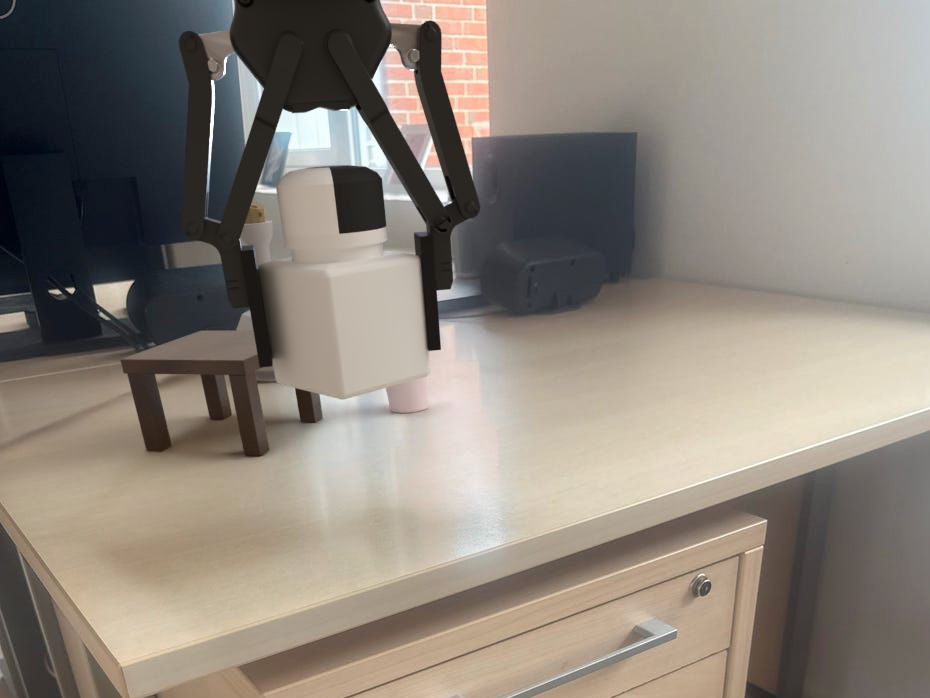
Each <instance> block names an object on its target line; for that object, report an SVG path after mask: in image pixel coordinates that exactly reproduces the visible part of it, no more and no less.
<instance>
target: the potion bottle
mask: <svg viewBox="0 0 930 698" xmlns="http://www.w3.org/2000/svg"><path fill="white" fill-rule="evenodd" d="M273 229H274V227H273V220H267V213H266V205H260V204H259V203H258V204H257V201H255V200H252V203H251V206H250V209H249V212H248V215H247V218H246V221H245V224H244V227H243V230H242V233H241V236H240V239H241V240H242V241H243V243H245V246H247V245H254V248H255V254H256V260H257V266H258V267H259V265H260V264H262V263H265V262H269V261H272V257H271V252H270V244H271V242H272V239H273V237H274V230H273ZM241 330H253V325H252V319H251V313H250V309H248V310H246V311H245V312H243V313H242V314H241V316H240V318H239V321H238V324H237V326H236V329H235V331H241ZM255 373H256V379H257V382H270V383H271V382H272V383H273V382H275V383H278V382H277V381H276V379H275V373H274V366H273V363H272V366H271V367H263V368H260V369H258V370H256V371H255Z"/></svg>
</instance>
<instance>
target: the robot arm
mask: <svg viewBox="0 0 930 698" xmlns="http://www.w3.org/2000/svg"><path fill="white" fill-rule="evenodd" d="M233 5H234V7H233V8H234V11H233V17H232V20H231V23H230V27H229V29H226V30H219V31H213V32H206V33H196V32H195V31H193V30H186V31H183V32H182V33H181V34H180V36H179V38H178V47H179V51H180V55H181V59H182V63H183V66H184V70H185V74H186V78H187V82H188V93H187V94H188V95H187V96H188V97H187V115H186V133H185V149H184V150H185V151H184V169H183V170H184V171H183V187H182V188H183V189H182V205H181V206H182V207H181V232H182V233H183V235H184V236H185V238H187V239H189V240H192V241H198V242H201V243H206V244H209V245H211V246H213V247H214V248H215V250H217V252H218V254H219V255H220V261H221V262H220V263H221V267H222V273H223V278H224V283H225V289H226V295H227V300H228V302H229V304H230V305H231V307H232V309H243V308H244V309H245V308H249V310H250V313H251V319H252V325H253V331H254V337H255V343H256V348H257V354H258V360H259V366H260V368H261V367H271V366H272V354H271V348H270V341H269V335H268V329H267V323H266V317H265V311H264V304H263V298H262V292H261V286H260V280H259V274H258V266H257V260H256V254H255V248H254V245H242V241H241V240H242V239H241V233H242V230H243V227H244V224H245V221H246V218H247V215H248V212H249V209H250V206H251V203H252V201H254V197H255V193H256V191H257V188H258V185H259V182H260V179H261V176H262V173H263V171H264V167H265V164H266V161H267V158H268V155H269V152H270V149H271V146H272V143H273V140H274V137H275V134H276V131H277V127H278V125H279V122H280V119H281V115H282V113H283V111H286V112H289V113H291V114H305V113H309V112H311V111H313V110H316V109H324V110H328V111H332V112H342V111H349V110H351V109H353V108H354V107H355V109H356V111H357V112H358V114H359V116H360V118H361V119H362V120H363V122H364V123H365V125H366V126H367V129H369V131H370V133H371V134H372V136H373V138H374V140H375V141H376V143H377V145H378V146H379V148H380V150H381V151H382V154H383V155H384V156H385V158H386V160H387V161H388V164H389V165H390V167H391V168H392V170H393V172H394V174H395V175H396V177H397V178H398V180H399V182H400V183H401V185H402V187H403V189H404V190H405V192H406V194H407V196H408V197H409V198H410V200H411V202H412V204H413V205H414V207H415V209H416V211H417V213H418V214H419V215H420V217H421V219H422V220H423V222H424V224H425V229H426V231H415V232H413V240H414V241H413V243H414V253H415V255H418V256H419V257H420V259H421V266H422V278H423V291H424V303H425V316H426V328H427V341H428V350H429V351H430V352H433V351H442V343H441V330H440V318H439V304H438V291H446V290H451V289H452V286H453V283H454V271H453V256H452V255H453V254H452V253H453V252H452V239H451V237H452V232H453V230H454V228H456V226H458V225H460V224H462V223H464V222H465V221H468V220H470V219H475V218H476V217H477V216H478V215H479V214H480V212H481V203H480V201H479V200H480V199H479V196H478V192H477V189H476V185H475V183H474V179H473V176H472V172H471V168H470V165H469V161H468V158H467V155H466V152H465V148H464V144H463V141H462V138H461V134H460V131H459V127H458V124H457V120H456V117H455V114H454V111H453V107H452V103H451V100H450V96H449V92H448V89H447V87H446V82H445V79H444V76H443V72H442V49H443V48H442V45H443V43H442V41H443V40H442V38H443V37H442V36H443V35H442V29H441V27H440V24H438V23H437V22H436V21H434V20H426V21H425V22H423V23H421V24H415V23H413V24H412V23H397V22H391V21H390V20H389V17H388V16H387V14H386V12H385V11H384V8H383V5H382V3H381V0H233ZM390 47H391V48H393V49H396V52H398V55H399V58H400V62H401V65H402V66H403V67H404V68H405V69H406V70H407V71H413V77H414V82H415V87H416V91H417V94H418V97H419V101H420V104H421V107H422V110H423V114H424V117H425V120H426V123H427V124H426V125H427V127H428V130H429V133H430V137H431V140H432V143H433V146H434V150H435V153H436V156H437V159H438V163H439V166H440V169H441V172H442V176H443V179H444V182H445V185H446V189H447V191H448V195H449V198H450V199H449V200H448V201H445V202H444V203H442V201H441V198H440V197H439V196H438V194H437V192H436V190H435V188H434V186H433V185H432V183H431V181H430V180H429V178H428V177H427V174H426V173H425V171H424V170H423V168H422V166H421V164H420V162H419V160H418V159H417V157H416V155H415V154H414V152H413V150H412V149H411V147H410V145H409V144H408V142H407V140H406V138H405V137H404V135H403V132H401V130H400V127H399V126H398V124H397V123H396V120H395V119H394V118H393V116H392V114H391V113H390V110H389V107H388V106H387V103H386V102H385V100H384V98H383V95H381V93H380V91H379V90H378V88H377V85H376V84H375V83H374V81H373V79H374V78H375V76H376V74H377V71H378V69H379V67H380V65H381V64H382V61H383V60H384V58H385V55H387V54H386V53H387V52H388V50H389V48H390ZM231 55H236V56H237V57H238V58H239V60H240V61H241V62H242V63H243V65H244V66H245V67H246V69H247V70H248V71H249V72H250V73H251V74H252V76H253V77H254V78H255V79H256V81H257V82H258V83H259V85H260V86H261V87H262V88H263V89H262V92H261V96H260V98H259V102H258V105H257V108H256V112H255V115H254V119H253V122H252V124H251V127H250V131H249V133H248V136H247V139H246V140H247V141H246V143H245V146H244V149H243V152H242V155H241V158H240V161H239V165H238V168H237V170H236V174H235V177H234V180H233V183H232V186H231V189H230V192H229V196H228V199H227V202H226V205H225V208H224V211H223V214H222V217H221V220H217V219H214V218H210V217H208V211H209V210H208V209H209V197H210V196H209V193H210V181H211V180H210V179H211V165H212V164H211V163H212V151H213V150H212V148H213V147H212V146H213V133H214V132H213V131H214V116H215V104H216V103H215V100H216V96H215V95H216V93H215V82H217V81H220V80H222V79H223V78H224V76H225V75H226V63H227V60H228V58H229V57H231Z"/></svg>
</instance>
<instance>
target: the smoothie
mask: <svg viewBox="0 0 930 698" xmlns="http://www.w3.org/2000/svg"><path fill="white" fill-rule="evenodd" d="M384 252H392V251H391V250H385V251H384ZM428 352H429V365H430V366H431V351H429V350H428ZM430 373H431V372H430ZM430 373H429V375H428V376H426V377H423V378H419V379H415V380H412V381H408V382H405V383H401V384H398V385H394V386H390V387H387V388H385V391H386V396H387V400H388V404H389V409H390V411H391V412H394V413H400V414H409V413H416V412H421V411H424V410H426V409H428V408H429V405H430Z"/></svg>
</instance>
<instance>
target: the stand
mask: <svg viewBox="0 0 930 698" xmlns="http://www.w3.org/2000/svg"><path fill="white" fill-rule="evenodd" d="M119 360H120V364H121V368H122V373H123V374H126V375H127V378H128V382H129V387H130V392H131V395H132V399H133V403H134V408H135V411H136V415H137V418H138V419H137V420H138V422H139V427H140V430H141V434H142V435H141V436H142V438H143V444H144V446H145V447H144V448H145V450H146V451H147V452H163V451H165V450H167V449H169V448H171V447H172V446H173V445H172V441H171V436H170V431H169V428H168V424H167V419H166V414H165V411H164V405H163V402H162V397H161V393H160V390H159V389H160V388H159V386H158V381H157V376H156V375H193V376H194V375H195V376H196V375H197V376H198V375H199V376H200V379H201V383H202V389H203V394H204V398H205V402H206V407H207V413H208V417H209V419H210V420H225V419H227V418H229V417H231V416H233V412H232V407H231V403H230V397H229V391H228V386H227V381H226V376H228V378H229V384H230V389H231V395H232V400H233V404H234V410H235V415H236V419H237V424H238V430H239V435H240V440H241V444H242V450H243V455H244V456H251V457H253V456H254V457H261V456H263V455H264V454H266V453H267V452H269V451H270V445H269V440H268V434H267V430H266V424H265V417H264V412H263V407H262V402H261V396H260V390H259V384H258V381H257V379H256V373H255V371H256V370H258V369H260V366H259V360H258V354H257V348H256V343H255V337H254V331H253V330H241V331H236V330H198V331H196V332H193V333H190V334H187V335H185V336H181V337H179V338H176V339H174V340H170V341H168V342H164V343H162V344H159V345H157V346H154V347H151V348H148V349H145V350H142V351H140V352H136V353H134V354H131V355H129V356H126V357H123V358H121V359H119ZM272 363H273V360H272ZM261 368H263V367H261ZM294 390H295V397H296V404H297V409H298V415H299V416H298V417H299V421H300V423H317V422H319V421H321V420H322V419H323V418H324V417H323V415H324V414H323V410H322V402H321V396H320V395H321V394H317V393H313V392H309V391H305V390H301V389H297V388H294ZM146 451H145V452H146Z"/></svg>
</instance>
